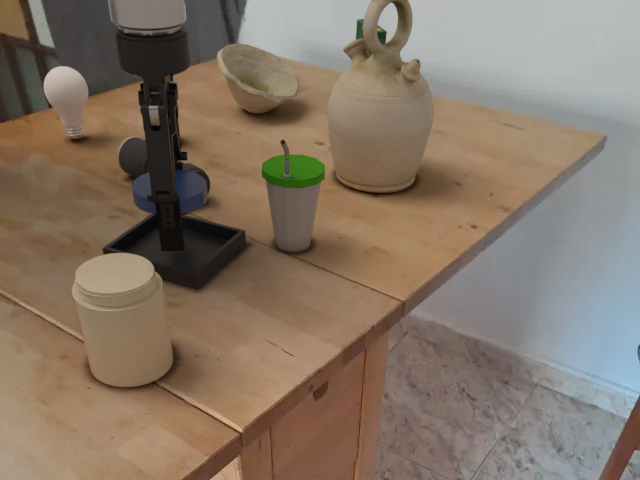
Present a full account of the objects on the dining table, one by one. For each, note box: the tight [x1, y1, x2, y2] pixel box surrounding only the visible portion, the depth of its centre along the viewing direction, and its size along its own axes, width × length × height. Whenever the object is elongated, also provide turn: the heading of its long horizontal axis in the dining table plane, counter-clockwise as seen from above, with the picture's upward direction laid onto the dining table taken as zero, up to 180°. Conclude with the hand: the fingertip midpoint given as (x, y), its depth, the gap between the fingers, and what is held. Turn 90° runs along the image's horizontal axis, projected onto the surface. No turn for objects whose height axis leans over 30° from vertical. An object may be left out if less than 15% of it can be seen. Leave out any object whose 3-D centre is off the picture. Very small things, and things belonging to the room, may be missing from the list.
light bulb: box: [43, 65, 89, 141], centre depth 110 cm, size 7×7×11 cm
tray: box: [102, 213, 247, 290], centre depth 87 cm, size 13×12×2 cm
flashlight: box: [116, 135, 211, 196], centre depth 99 cm, size 15×5×5 cm, turn 48°
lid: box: [131, 169, 208, 214], centre depth 82 cm, size 9×9×2 cm
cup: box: [261, 139, 326, 253], centre depth 85 cm, size 8×8×15 cm
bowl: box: [216, 43, 300, 114], centre depth 123 cm, size 15×14×10 cm
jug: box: [326, 0, 434, 194], centre depth 98 cm, size 15×16×25 cm
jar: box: [71, 253, 174, 388], centre depth 67 cm, size 8×8×10 cm
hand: (175, 230), depth 85 cm, fingers closed on lid, 9 cm apart
